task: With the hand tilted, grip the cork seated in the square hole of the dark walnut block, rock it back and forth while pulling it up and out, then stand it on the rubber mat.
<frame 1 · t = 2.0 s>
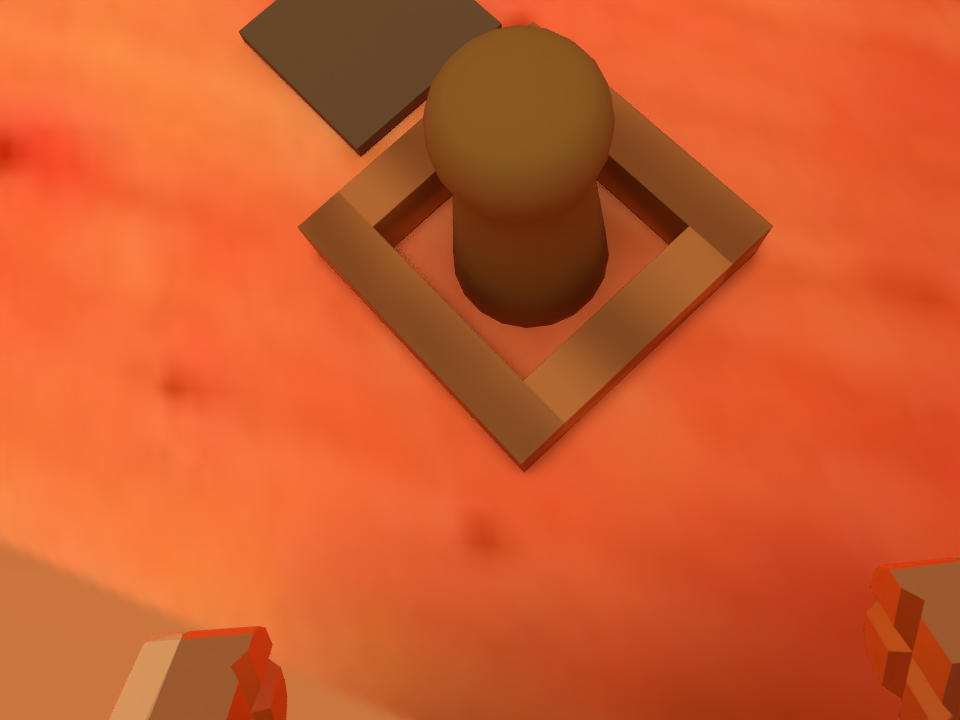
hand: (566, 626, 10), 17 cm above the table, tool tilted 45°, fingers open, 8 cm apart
rubber mat: (370, 36, 33), on the table
cork: (530, 255, 30), resting in walnut housing
walnut housing: (530, 252, 30), on the table
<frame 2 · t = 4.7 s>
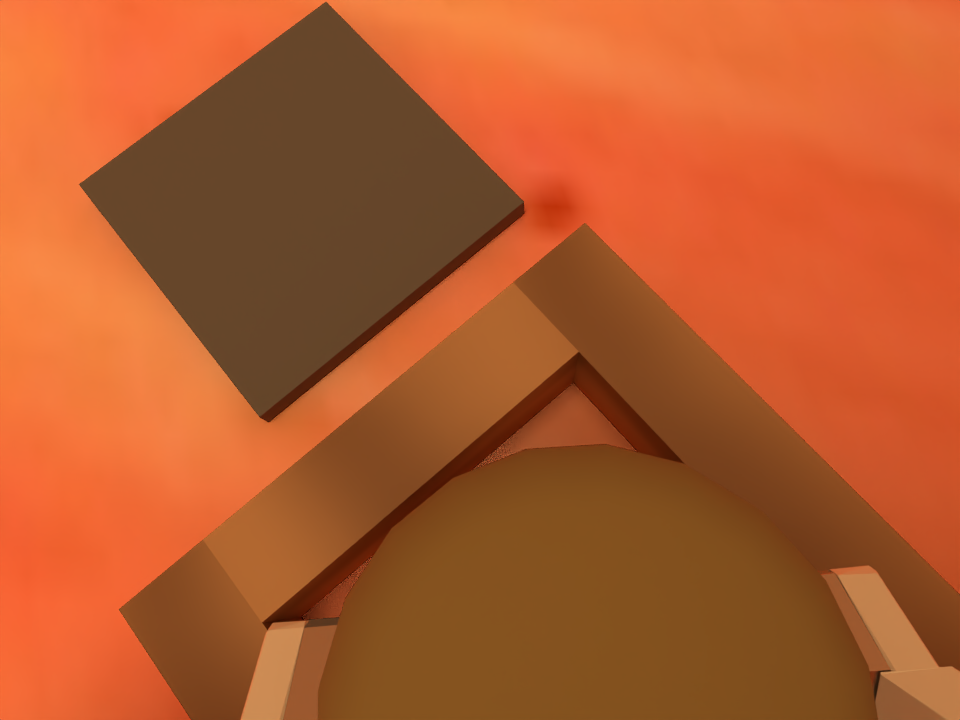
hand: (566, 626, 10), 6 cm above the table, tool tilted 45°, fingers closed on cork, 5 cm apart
rubber mat: (302, 204, 20), on the table
cork: (560, 640, 17), resting in walnut housing, touching gripper
walnut housing: (560, 640, 16), on the table
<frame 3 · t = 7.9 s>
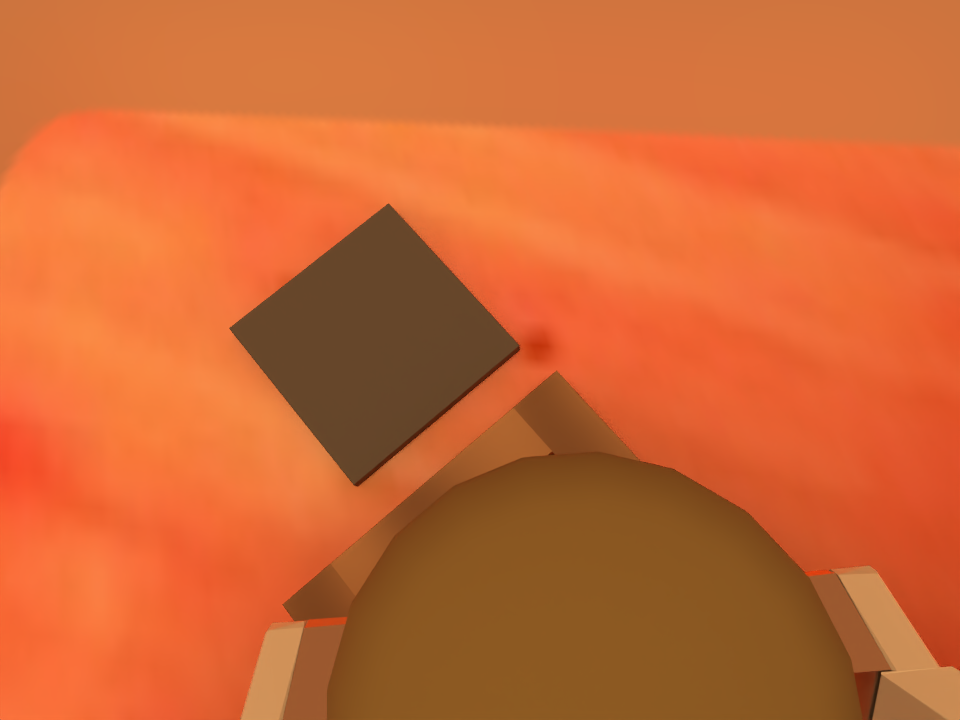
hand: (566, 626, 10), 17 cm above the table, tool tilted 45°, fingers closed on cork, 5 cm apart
rubber mat: (375, 341, 30), on the table
cork: (560, 646, 17), point 11 cm above the table, touching gripper
walnut housing: (541, 623, 27), on the table
when the fingers open (8 cm above the table, at t = 11.2 s): cork stays where it is, resting on rubber mat.
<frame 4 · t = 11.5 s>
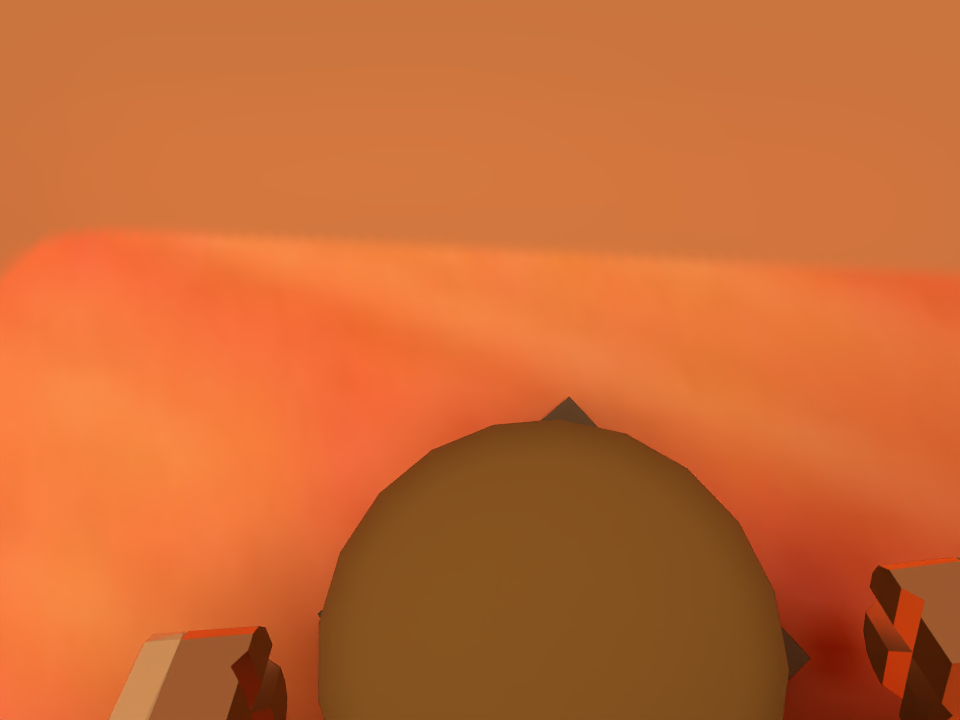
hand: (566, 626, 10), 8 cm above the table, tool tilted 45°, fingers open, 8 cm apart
rubber mat: (556, 633, 18), on the table
cork: (548, 642, 18), point 1 cm above the table, touching rubber mat
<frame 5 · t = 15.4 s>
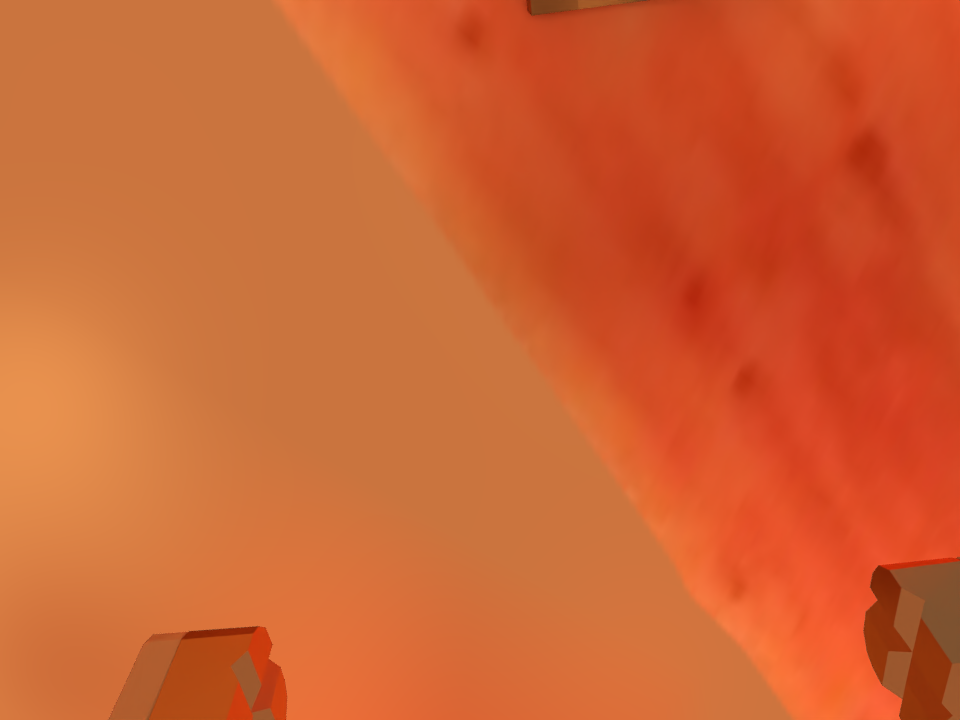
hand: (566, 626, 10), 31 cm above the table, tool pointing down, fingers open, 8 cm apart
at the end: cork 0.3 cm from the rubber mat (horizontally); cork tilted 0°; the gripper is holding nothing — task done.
